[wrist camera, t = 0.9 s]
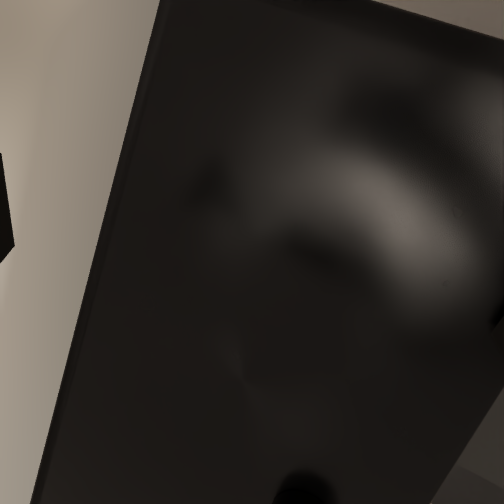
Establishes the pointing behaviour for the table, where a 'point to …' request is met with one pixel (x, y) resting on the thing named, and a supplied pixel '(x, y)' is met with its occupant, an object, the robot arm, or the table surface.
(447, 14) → the table surface
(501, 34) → the table surface
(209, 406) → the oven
